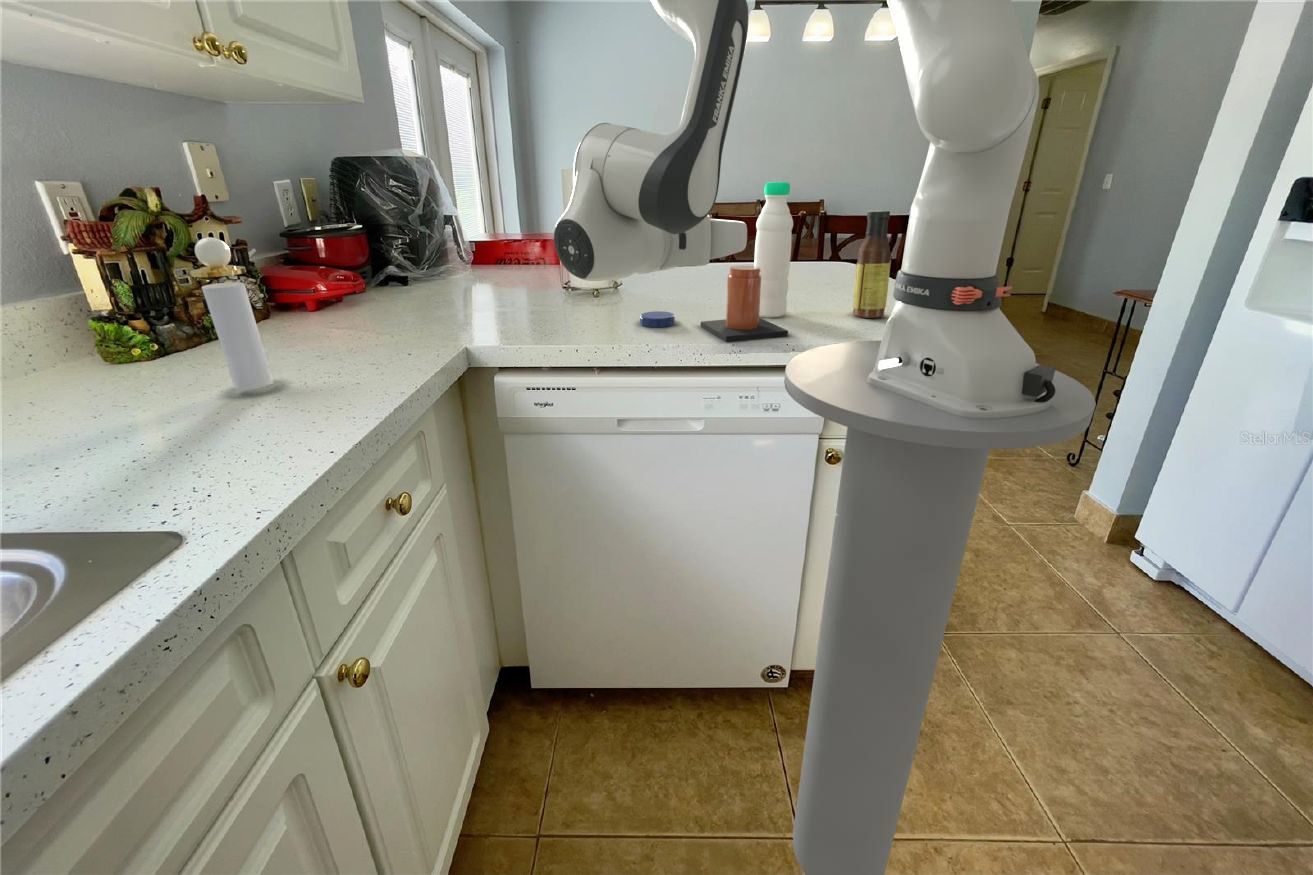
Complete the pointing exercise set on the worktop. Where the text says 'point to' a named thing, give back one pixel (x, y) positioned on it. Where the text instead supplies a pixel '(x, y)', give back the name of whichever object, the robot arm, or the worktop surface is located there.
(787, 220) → the water bottle
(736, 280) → the jar
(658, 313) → the lid
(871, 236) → the sauce bottle
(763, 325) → the coaster
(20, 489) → the worktop surface
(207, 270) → the perfume bottle
